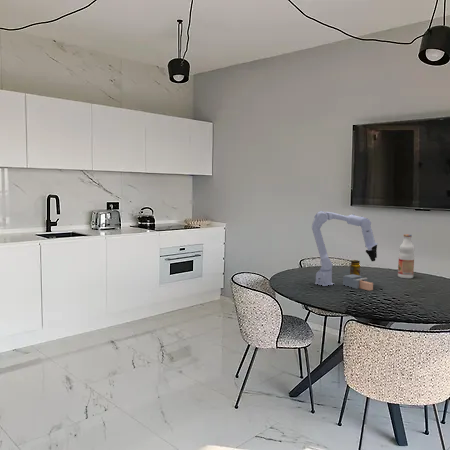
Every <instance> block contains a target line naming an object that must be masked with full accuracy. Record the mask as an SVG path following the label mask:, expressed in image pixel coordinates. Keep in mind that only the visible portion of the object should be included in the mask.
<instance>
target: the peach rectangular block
mask: <svg viewBox="0 0 450 450" xmlns="http://www.w3.org/2000/svg"><path fill="white" fill-rule="evenodd" d="M359 289H362V290H365V291H373V290H374V282H370V281H368V280H367V281H362V280H360V282H359Z"/></svg>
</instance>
